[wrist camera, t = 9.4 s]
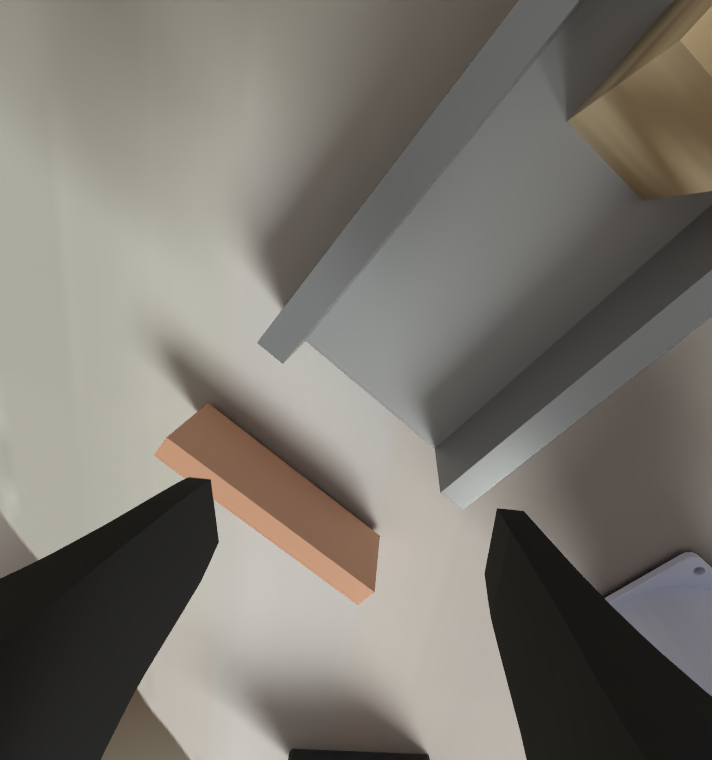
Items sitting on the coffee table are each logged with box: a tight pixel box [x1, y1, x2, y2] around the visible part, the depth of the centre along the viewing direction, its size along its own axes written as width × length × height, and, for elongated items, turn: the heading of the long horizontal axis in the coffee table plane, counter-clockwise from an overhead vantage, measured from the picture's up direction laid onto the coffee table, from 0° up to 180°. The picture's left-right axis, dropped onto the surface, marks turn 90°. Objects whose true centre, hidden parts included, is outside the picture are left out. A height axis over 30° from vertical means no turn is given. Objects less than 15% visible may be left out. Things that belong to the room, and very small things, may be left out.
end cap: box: [154, 403, 380, 605], centre depth 19 cm, size 12×1×4 cm, turn 50°
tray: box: [257, 0, 712, 510], centre depth 13 cm, size 10×21×4 cm, turn 140°
